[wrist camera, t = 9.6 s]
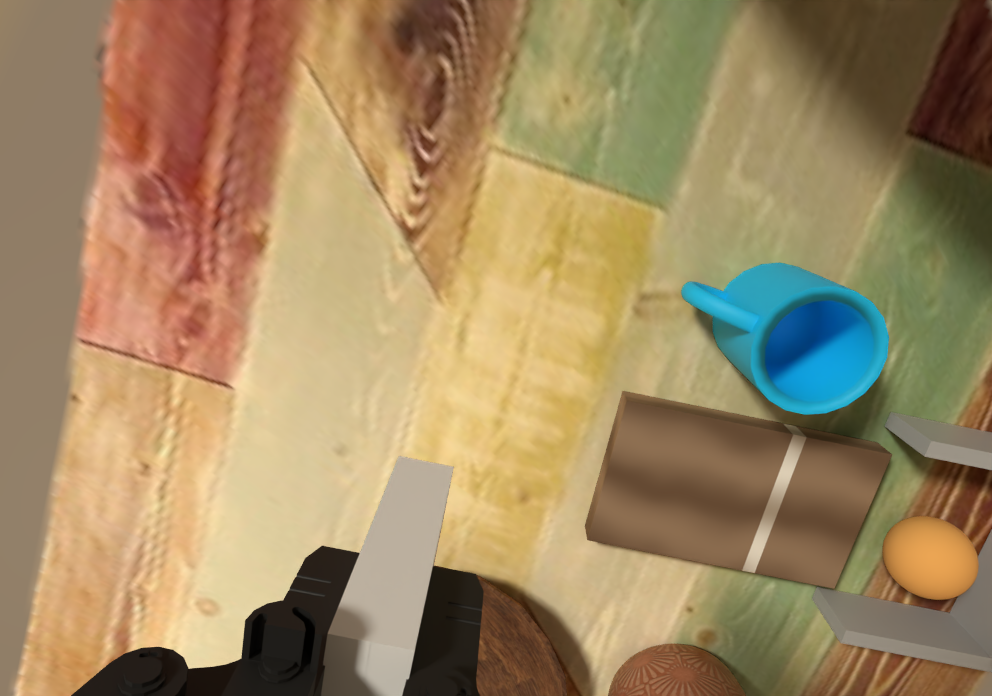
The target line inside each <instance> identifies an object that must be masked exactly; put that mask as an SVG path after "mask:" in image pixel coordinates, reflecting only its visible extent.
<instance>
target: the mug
mask: <svg viewBox="0 0 992 696" xmlns="http://www.w3.org/2000/svg"><path fill="white" fill-rule="evenodd" d="M681 294H682V297H683V299H684V300H685V301H687V302H688V303H690V304H691V305H693V306H694V307H696V308H698V309H700V310H701V311H703V312H705V313H707V314H709V315H711V316H713V334H714V337H715V340H716V343H717V345H718V347H719V349H720V350H721V351H722V352H723V354H724V355H725V356H726V357H727V358H728V360H729V361H730V362H731V363H732V364H733V365H734V366H735V367H736V368H737V369H738V370H739V371H740V372H741V373H742V374H743V375H744V376H745V377H746V378H747V379H748V380H749V381H750V382H751V383H752V384H753V385H754V386H755V387H756V388H757V389H758V390H759V391H760V392H761V393H762V394H763V395H764V396H765V397H766V398H767V399H768V400H769V401H771V402H772V403H774V404H776V405H777V406H779V407H781V408H782V409H784V410H786V411H791V412H795V413H800V414H804V415H808V414H822V413H828V412H831V411H834V410H836V409H839V408H842V407H845V406H847V405H849V404H850V403H852V402H853V401H854V400H856V399H857V398H859V397H860V396H862V395H863V394H865V392H866V391H867V390H868V389H869V388H870V386H871V385H872V384H873V383H874V382H875V381H876V379H877V378H878V377H879V375H880V373H881V370H882V368H883V366H884V363H885V361H886V359H887V353H888V342H889V335H888V332H887V328H886V324H885V321H884V318H883V316H882V315H881V313H880V312H879V311H878V309H877V308H876V307H875V305H874V304H873V303H872V302H871V301H870V300H868V299H867V298H865V297H863V296H862V295H860V294H859V293H857V292H856V291H854V290H851V289H849V288H847V287H844V286H842V285H839V284H837V283H835V282H832V281H830V280H828V279H825V278H823V277H821V276H818V275H816V274H813V273H811V272H809V271H806V270H804V269H802V268H799V267H796V266H792V265H788V264H784V263H771V264H761V265H759V266H756V267H754V268H751V269H749V270H746V271H744V272H743V273H741V274H740V275H739V276H737V277H736V278H735V279H733V280H732V281H731V282H730V283H729V284H728V285H727V287H726V288H725V289H724V291H721V290H718V289H715V288H713V287H710V286H707V285H704V284H701V283H698V282H687V283H686V284H685V285H684V286H683V287H682V291H681Z"/></svg>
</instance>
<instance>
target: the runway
mask: <svg viewBox="0 0 992 696" xmlns="http://www.w3.org/2000/svg"><path fill="white" fill-rule="evenodd" d="M891 456H892V454H891V453H890V452H888V451H887V450H886V449H885V448H884V447H882V446H881V445H880V444H879V443H877V442H872V441H867V440H862V439H857V438H852V437H847V436H842V435H837V434H832V433H827V432H823V431H818V430H813V429H808V428H803V427H798V426H793V425H788V424H783V423H778V422H773V421H768V420H763V419H759V418H754V417H749V416H744V415H739V414H734V413H729V412H724V411H719V410H714V409H709V408H704V407H699V406H694V405H690V404H685V403H680V402H675V401H670V400H665V399H660V398H655V397H650V396H645V395H640V394H635V393H630V392H625V391H623V392H622V396H621V399H620V403H619V406H618V410H617V413H616V417H615V421H614V424H613V428H612V431H611V435H610V438H609V442H608V446H607V449H606V453H605V456H604V460H603V463H602V467H601V471H600V474H599V478H598V481H597V485H596V488H595V492H594V495H593V499H592V503H591V506H590V510H589V513H588V517H587V520H586V524H585V529H586V535H587V540H590V541H595V542H600V543H605V544H610V545H615V546H620V547H625V548H630V549H635V550H640V551H645V552H650V553H656V554H661V555H666V556H671V557H676V558H681V559H686V560H691V561H696V562H701V563H706V564H711V565H716V566H721V567H727V568H732V569H737V570H742V571H747V572H752V573H757V574H762V575H767V576H772V577H777V578H782V579H787V580H792V581H798V582H803V583H808V584H813V585H818V586H823V587H828V588H833V589H834V588H835V586H836V584H837V581H838V579H839V577H840V574H841V572H842V570H843V567H844V565H845V563H846V560H847V558H848V556H849V554H850V551H851V549H852V547H853V544H854V542H855V540H856V537H857V535H858V533H859V530H860V528H861V526H862V523H863V521H864V519H865V516H866V514H867V512H868V510H869V507H870V505H871V503H872V500H873V498H874V496H875V493H876V491H877V489H878V486H879V484H880V482H881V479H882V477H883V475H884V473H885V470H886V468H887V466H888V463H889V461H890V459H891Z"/></svg>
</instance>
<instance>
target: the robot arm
mask: <svg viewBox="0 0 992 696" xmlns="http://www.w3.org/2000/svg"><path fill="white" fill-rule="evenodd" d="M453 468H454V467H452V466H447V465H442V464H437V463H432V462H427V461H422V460H417V459H412V458H407V457H402V456H399V457H398V459H397V462H396V464H395V466H394V469H393V471H392V474H391V476H390V479H389V481H388V484H387V486H386V489H385V491H384V494H383V496H382V499H381V501H380V504H379V506H378V509H377V511H376V514H375V516H374V519H373V521H372V524H371V526H370V529H369V531H368V534H367V536H366V539H365V541H364V544H363V546H362V549H361V551H360V553H357V552H351V551H346V550H341V549H336V548H331V547H326V546H321V547H320V548H318V549H317V550H316V551H314V552H313V553H312V554H310V555H309V556H308V557H306V558H305V560H304V562H303V564H302V566H301V568H300V570H299V572H298V573H297V577H295V579H294V581H293V583H292V585H291V587H290V590H289V591H288V592H287V594H286V596H285V598H284V600H283V601H278V602H273V603H268V604H266V605H264V606H262V607H260V608H258V609H256V610H254V611H253V612H252V614H251V615H250V616H249V617H248V618H247V619H246V620H245V629H244V639H243V649H242V658H241V659H240V660H238V661H235V662H232V663H229V664H226V665H221V666H215V667H205V668H192V669H188V666H187V664H186V662H185V660H184V657H182V656H181V655H179V654H178V653H177V652H175V651H174V650H171V649H166V648H162V647H149V648H140V649H137V650H134V651H131V652H128V653H125V654H123V655H122V656H120V657H119V658H117V659H115V660H114V661H112V662H111V663H109V664H108V665H107V666H106V667H105V668H103V669H102V670H101V671H100V672H99V673H97V674H96V675H95V676H94V677H93V678H92V679H90V680H89V681H88V682H87V683H86V684H84V685H83V686H82V687H81V688H80V689H78V690H77V691H76V692H75V693H74V694H73V695H71V696H480V694H479V692H478V689H477V680H476V676H477V665H478V653H479V641H480V629H481V618H482V606H483V594H484V591H483V588H482V586H481V584H480V582H479V580H478V577H477V575H476V574H472V573H467V572H462V571H457V570H452V569H447V568H442V567H437V566H434V562H435V557H436V552H437V547H438V542H439V537H440V532H441V527H442V522H443V518H444V513H445V508H446V503H447V498H448V493H449V488H450V483H451V478H452V473H453Z"/></svg>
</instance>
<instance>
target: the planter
mask: <svg viewBox="0 0 992 696" xmlns="http://www.w3.org/2000/svg"><path fill="white" fill-rule="evenodd" d="M608 696H746V695H745V693H744V691H743V689H742V688H741V686H740V684H739V683H738V681H737V680H736V678H735V677H734V675H733V674H732V673H731V671H730V670H729V669H728V668H727V667H726V666H725V665H724V664H723V663H722V662H721V661H720V660H719V659H717V658H716V657H715V656H713V655H712V654H710V653H708V652H706V651H704V650H702V649H699V648H696V647H693V646H689V645H684V644H664V645H658V646H654V647H650V648H648V649H645V650H643V651H641V652H639V653H637V654H635V655H634V656H632V657H631V658H630V659H628V660H627V661H626V662H625V663H624V664H623V665H622V666H621V667H620V669H619V670H618V671H617V673H616V675H615V676H614V678H613V681H612V683H611V685H610V689H609V693H608Z"/></svg>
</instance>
